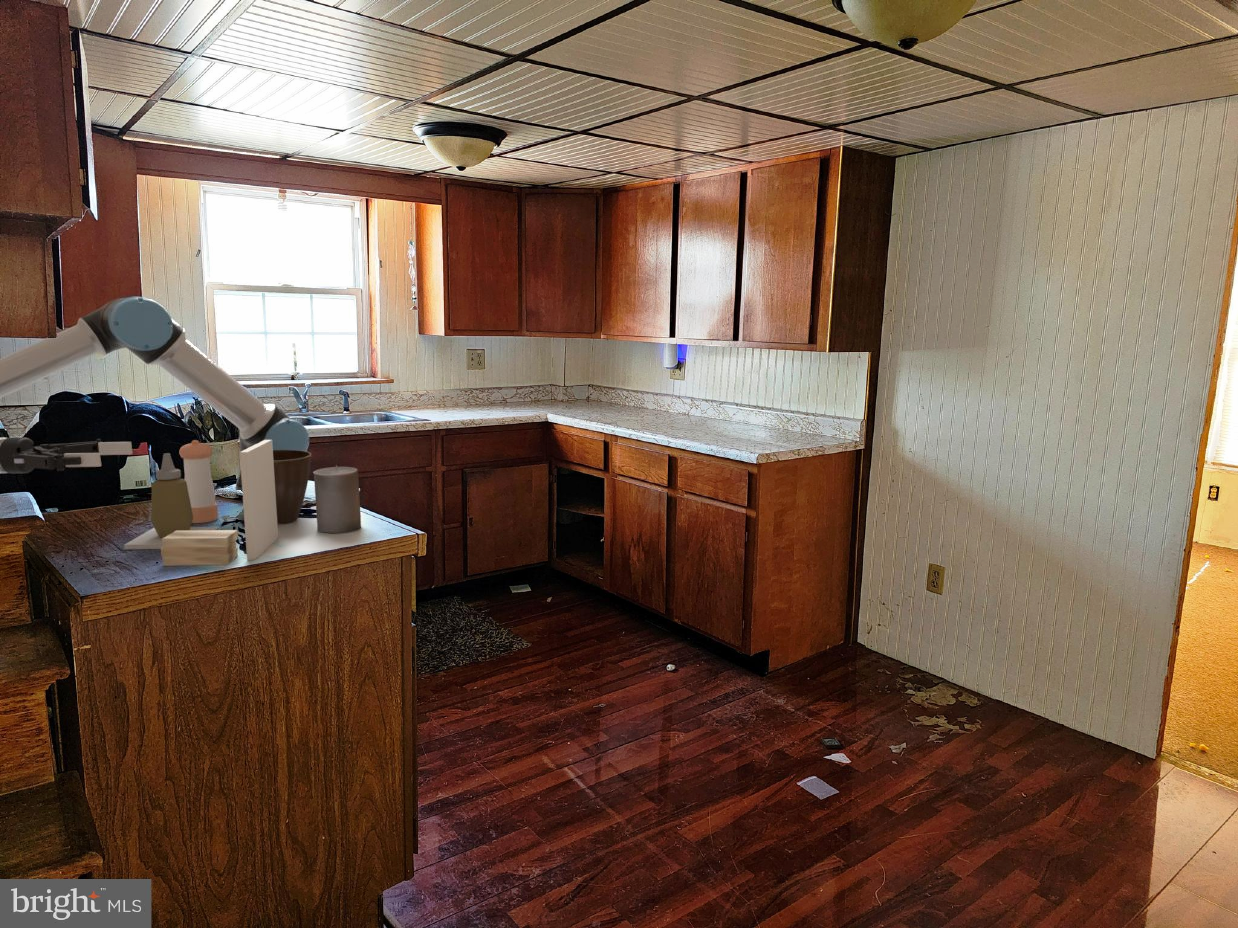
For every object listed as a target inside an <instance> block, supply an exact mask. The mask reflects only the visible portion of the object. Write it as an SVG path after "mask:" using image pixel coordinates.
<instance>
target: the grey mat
mask: <svg viewBox="0 0 1238 928" xmlns="http://www.w3.org/2000/svg"><path fill="white" fill-rule="evenodd" d="M190 530H221V529H220V526H191V527H190ZM162 547H163V540H162V537H159V536H158V534H157V532H156V530H155V528H154V527H153V528H151V529H148V530H147V531H145V532H144V533H142V534H141V535H139V536H137V537H134V539H132V540H130V541H128V542H126V543H125V544H124V550H161V548H162Z"/></svg>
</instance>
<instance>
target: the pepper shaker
mask: <svg viewBox="0 0 1238 928" xmlns="http://www.w3.org/2000/svg"><path fill="white" fill-rule="evenodd" d="M178 451H179V452H178V453H179V455H180V458H182V459H183V469H184V470H183V471H184V478H183V479H184V480H185V481H186V483H187V488H188V493H189V498H190V503H191V508H192V513H193V520H192V524H203V523H209V522H214V521H217V520H218V519H219V512H218V511H219V509H218V503H216V493H215V491H216V489H215V486H214V483H213V477H212V473H211V461H210V457H211V456H212V455H213V452H214V451H213V449H212V447H211V446H210V444H207V443H204V442H200V441H199V440H197V439H193V440H192V441H191V442H190V443H187V444H184V445H182V446H181V447H180V449H179V450H178Z"/></svg>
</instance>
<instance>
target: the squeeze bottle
mask: <svg viewBox="0 0 1238 928" xmlns="http://www.w3.org/2000/svg"><path fill="white" fill-rule="evenodd" d="M181 472H182V471H181V470H180V469H179V468H176V467H175V465H174V462H173V459H172V456H171V453H169V452H167V453H163V455H162V462H161V467H160V469H158V470H156V471H155V476H156V477H155V479H156V480H155V481H154V482H152V483H151V500H150V501H151V505H150V509H151V510H150V522H151V523H152V524H151V525H152V526H153V528H155V530H156V532H157V534H158V536H159V537H162V538H164V537H166V536H168V535H169V534H171V533H173V532H174V531H176V530H190V527H192V524H193V523H192V520H193V513H192V508H191V503H190V498H189V493H188V488H187V483H186V481H185V480H184V479H185V478H181V477H182V473H181Z"/></svg>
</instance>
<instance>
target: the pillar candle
mask: <svg viewBox="0 0 1238 928" xmlns="http://www.w3.org/2000/svg"><path fill="white" fill-rule="evenodd" d="M358 471H359V470H358V469H357V468H356V467H353V466H352V467H350V466H338V465H337V464H336V465H335V466H332V467H325V468H324V467H323V468H319V469H316V470H314V471H313V472H312V474H313V478H314V481H313V483H314V493H315V495H314V497H315V499H314V500H315V512H316V524H317V531H318V532H319V533H329V534H344V533H345V534H346V533H351V532H353V531H357V530H358V529H359V528H361V527H362V519H361V518H362V515H361V502H360V501H361V500H360V485H359V484H360V483H359V472H358Z"/></svg>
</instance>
